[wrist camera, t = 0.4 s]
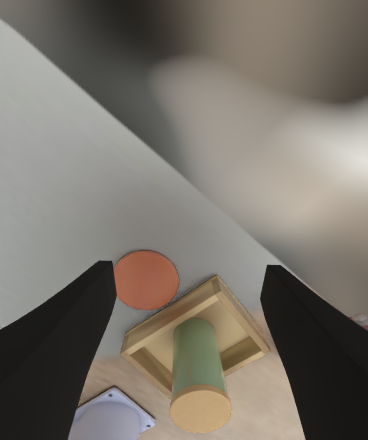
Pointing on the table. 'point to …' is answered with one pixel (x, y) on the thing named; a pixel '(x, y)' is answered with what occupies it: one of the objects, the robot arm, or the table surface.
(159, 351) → the crate
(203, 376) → the spice jar
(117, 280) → the coaster
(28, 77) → the table surface
